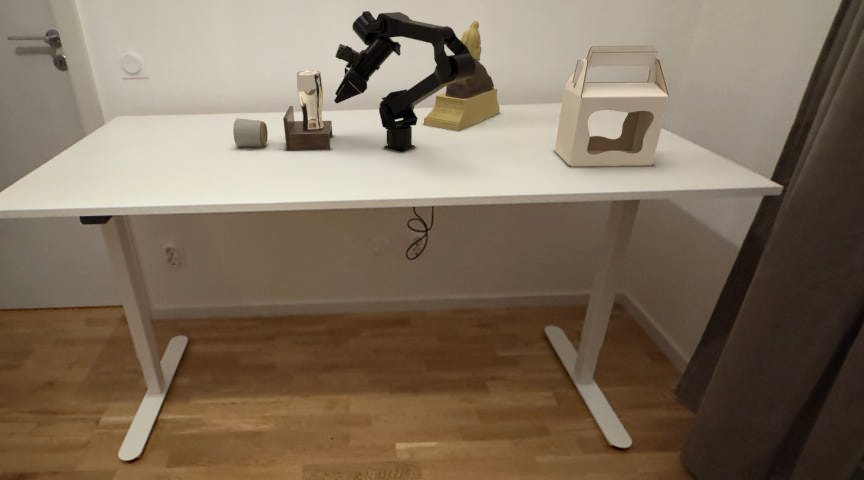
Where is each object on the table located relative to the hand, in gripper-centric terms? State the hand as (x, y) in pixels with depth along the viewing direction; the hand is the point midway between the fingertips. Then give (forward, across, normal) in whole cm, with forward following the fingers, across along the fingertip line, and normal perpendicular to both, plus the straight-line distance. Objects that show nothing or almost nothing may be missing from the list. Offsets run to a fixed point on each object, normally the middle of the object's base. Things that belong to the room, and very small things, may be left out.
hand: (335, 98), depth 148 cm
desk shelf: (+14, -1, +4) cm, 15 cm away
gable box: (-41, +18, +59) cm, 74 cm away
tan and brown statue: (-20, -26, +38) cm, 50 cm away
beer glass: (+11, -1, +1) cm, 11 cm away
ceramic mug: (+27, -1, -8) cm, 28 cm away
